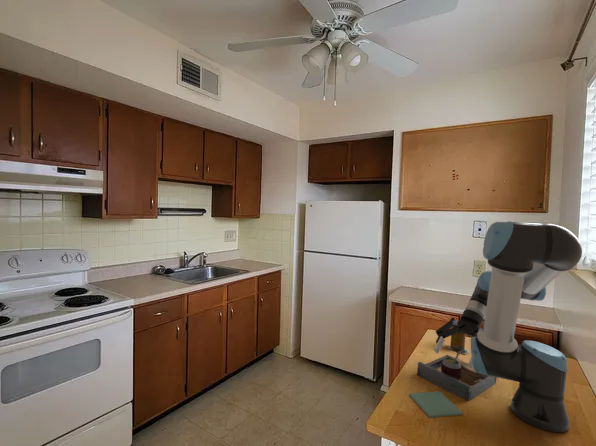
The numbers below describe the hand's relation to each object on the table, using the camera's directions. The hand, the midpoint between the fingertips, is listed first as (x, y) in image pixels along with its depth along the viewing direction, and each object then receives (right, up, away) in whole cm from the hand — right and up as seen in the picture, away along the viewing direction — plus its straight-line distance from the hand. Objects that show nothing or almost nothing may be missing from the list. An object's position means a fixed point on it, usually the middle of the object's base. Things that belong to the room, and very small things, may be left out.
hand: (452, 358), depth 123 cm
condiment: (+18, -8, +29) cm, 35 cm away
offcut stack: (+7, -9, +5) cm, 13 cm away
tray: (+3, -9, +2) cm, 9 cm away
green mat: (-13, -9, -15) cm, 22 cm away
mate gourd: (0, -9, 0) cm, 9 cm away
